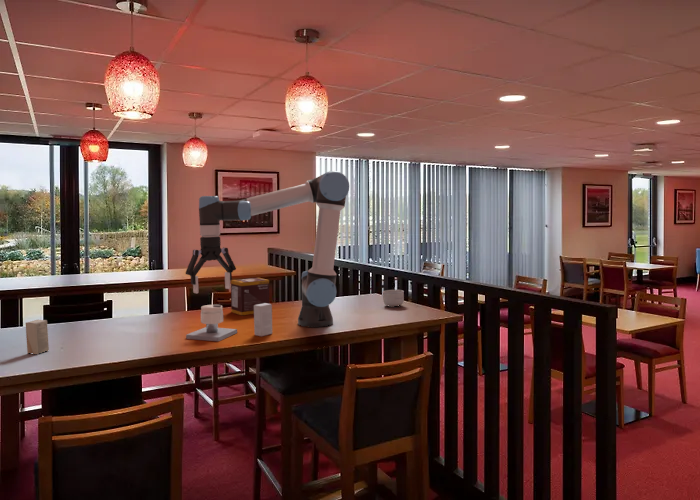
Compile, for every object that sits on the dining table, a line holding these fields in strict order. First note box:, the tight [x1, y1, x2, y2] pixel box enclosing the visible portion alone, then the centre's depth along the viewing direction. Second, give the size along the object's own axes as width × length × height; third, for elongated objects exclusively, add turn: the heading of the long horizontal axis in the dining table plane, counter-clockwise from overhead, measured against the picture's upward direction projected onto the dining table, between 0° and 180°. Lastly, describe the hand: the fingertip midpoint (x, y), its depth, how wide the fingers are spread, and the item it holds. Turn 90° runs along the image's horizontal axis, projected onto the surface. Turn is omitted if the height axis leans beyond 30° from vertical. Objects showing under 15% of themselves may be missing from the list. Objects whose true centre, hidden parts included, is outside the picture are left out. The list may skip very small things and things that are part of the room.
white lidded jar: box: [200, 304, 224, 325], centre depth 203 cm, size 8×8×7 cm
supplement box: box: [230, 277, 270, 316], centre depth 250 cm, size 10×15×16 cm
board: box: [185, 326, 238, 342], centre depth 203 cm, size 14×14×2 cm
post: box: [205, 323, 219, 333], centre depth 203 cm, size 4×4×8 cm
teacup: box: [382, 289, 405, 306], centre depth 266 cm, size 14×11×8 cm
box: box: [25, 319, 50, 354], centre depth 178 cm, size 5×4×11 cm
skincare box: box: [253, 303, 273, 337], centre depth 205 cm, size 6×4×12 cm
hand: (212, 290), depth 202 cm, fingers open, 13 cm apart
